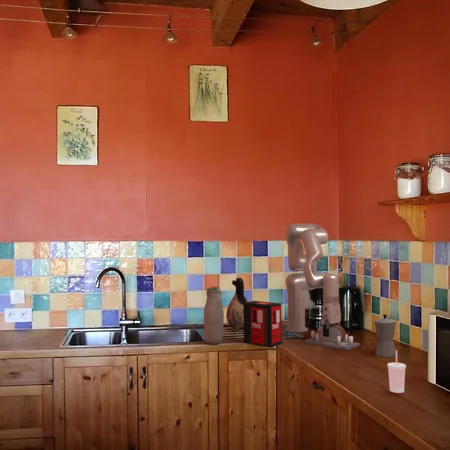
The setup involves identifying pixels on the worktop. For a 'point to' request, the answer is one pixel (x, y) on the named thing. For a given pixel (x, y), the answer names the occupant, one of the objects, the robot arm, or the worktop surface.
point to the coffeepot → (385, 337)
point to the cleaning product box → (262, 323)
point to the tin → (332, 333)
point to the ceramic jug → (237, 307)
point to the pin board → (338, 345)
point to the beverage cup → (396, 376)
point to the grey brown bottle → (213, 316)
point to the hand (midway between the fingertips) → (331, 334)
